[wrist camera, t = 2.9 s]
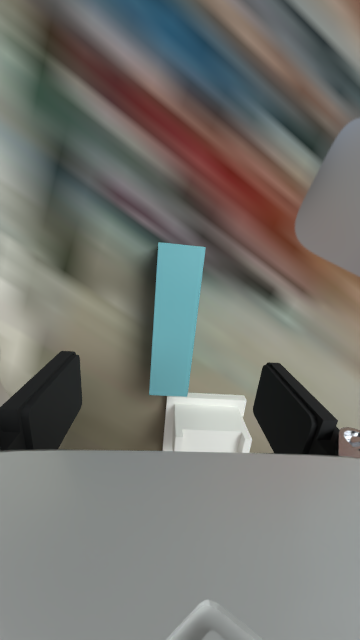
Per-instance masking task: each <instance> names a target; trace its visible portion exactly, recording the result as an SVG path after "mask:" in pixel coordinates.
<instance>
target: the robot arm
mask: <svg viewBox="0 0 360 640" xmlns="http://www.w3.org/2000/svg"><path fill="white" fill-rule="evenodd" d="M81 405H82V391H81V374H80V358H79V355H76V353H75V352H70V351H61V352H60V353H59V354H58V355H56V356H55V357H54V358H53V359H52V360H51V361H50V362H49V363H48V364H47V365H46V366H45V367H43V368H42V369H41V370H40V371H39V372H38V373H37V374H36V375H35V376H34V377H33V378H32V379H30V380H29V381H28V382H27V383H26V384H25V385H24V386H23V387H22V388H21V389H20V390H18V391H17V392H16V393H15V394H14V395H13V396H12V397H11V398H10V399H9V400H8V401H7V402H6V403H4V404H3V405H2V406H1V407H0V640H360V430H357V429H354V428H349V427H345V428H341V429H340V430H339V429H338V428H337V427H336V424H337V422H338V420H337V419H336V418H335V417H334V416H333V415H332V414H331V413H330V412H329V411H328V410H327V409H326V408H325V407H324V406H323V405H322V404H321V403H320V402H319V401H318V400H317V399H315V398H314V397H313V396H312V395H311V394H310V393H309V392H308V391H307V390H306V389H305V388H304V387H303V386H302V385H301V384H300V383H299V382H298V381H297V380H296V379H295V378H294V377H293V376H292V375H291V374H290V373H289V372H288V371H287V370H286V369H285V368H284V367H283V366H282V365H281V364H280V363H267V364H266V365H264V366H263V368H262V373H261V377H260V381H259V385H258V389H257V394H256V398H255V402H254V406H253V413H254V416H255V417H256V419H257V421H258V423H259V425H260V427H261V429H262V431H263V432H264V434H265V436H266V438H267V440H268V442H269V444H270V446H271V447H272V449H273V451H274V453H234V452H185V451H133V450H67V449H58V448H59V446H60V444H61V442H62V441H63V439H64V437H65V435H66V433H67V432H68V430H69V428H70V426H71V424H72V423H73V421H74V419H75V417H76V416H77V414H78V412H79V410H80V408H81Z"/></svg>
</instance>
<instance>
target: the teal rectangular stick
mask: <svg viewBox="0 0 360 640" xmlns="http://www.w3.org/2000/svg"><path fill="white" fill-rule="evenodd" d="M205 248H206V247H199V246H189V245H179V244H169V243H160V242H159V243H158V259H157V275H156V292H155V308H154V325H153V341H152V357H151V374H150V390H149V395H162V396H181V397H187V395H188V387H189V379H190V371H191V362H192V354H193V346H194V338H195V330H196V321H197V313H198V305H199V297H200V289H201V280H202V272H203V264H204V256H205Z"/></svg>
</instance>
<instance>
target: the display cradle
mask: <svg viewBox="0 0 360 640" xmlns="http://www.w3.org/2000/svg"><path fill="white" fill-rule="evenodd" d="M246 401H247V400H246V399H245V397H244V395H225V394H205V393H188V395H187V397H181V396H167V403H166V415H165V426H164V438H163V450H162V451H185V452H234V453H249V451H250V446H251V442H252V438H251V436H250V434H249V432H248V429H247V427H246V425H245V423H244V420H243V415H244V410H245V405H246Z"/></svg>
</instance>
